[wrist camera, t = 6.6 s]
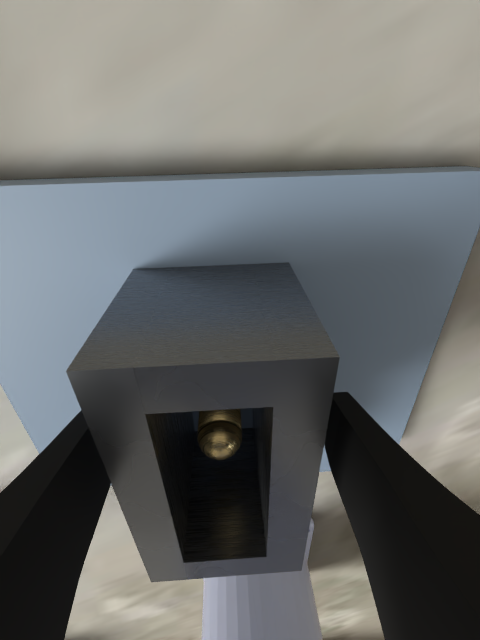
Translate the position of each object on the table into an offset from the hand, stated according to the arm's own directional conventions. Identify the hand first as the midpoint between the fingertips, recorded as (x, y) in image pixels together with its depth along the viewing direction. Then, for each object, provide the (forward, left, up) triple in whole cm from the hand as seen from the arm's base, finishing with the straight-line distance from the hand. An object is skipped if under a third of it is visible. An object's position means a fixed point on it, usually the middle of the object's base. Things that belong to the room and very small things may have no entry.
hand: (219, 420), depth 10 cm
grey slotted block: (0, 0, -2) cm, 2 cm away
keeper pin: (0, 0, -2) cm, 2 cm away
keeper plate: (0, 0, -4) cm, 4 cm away
